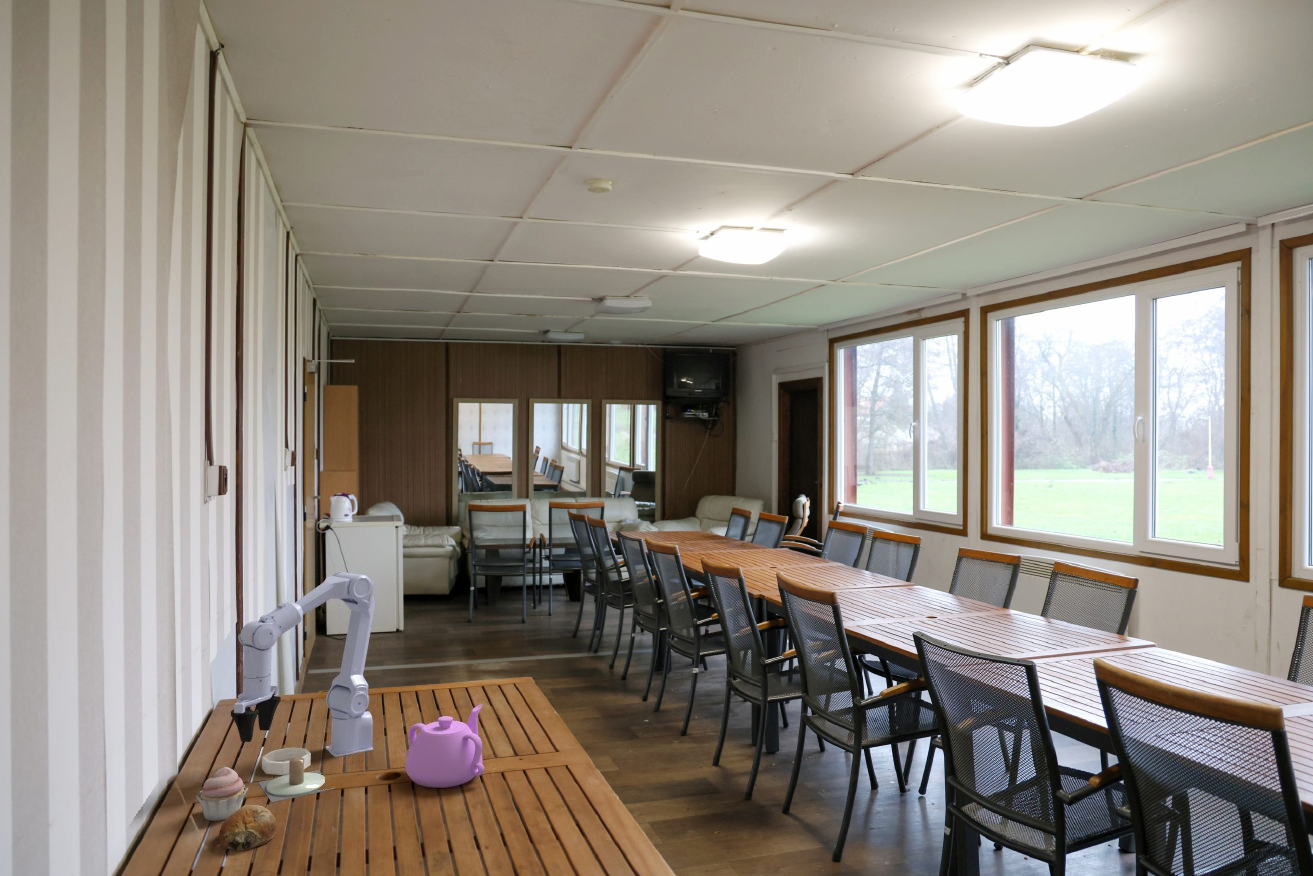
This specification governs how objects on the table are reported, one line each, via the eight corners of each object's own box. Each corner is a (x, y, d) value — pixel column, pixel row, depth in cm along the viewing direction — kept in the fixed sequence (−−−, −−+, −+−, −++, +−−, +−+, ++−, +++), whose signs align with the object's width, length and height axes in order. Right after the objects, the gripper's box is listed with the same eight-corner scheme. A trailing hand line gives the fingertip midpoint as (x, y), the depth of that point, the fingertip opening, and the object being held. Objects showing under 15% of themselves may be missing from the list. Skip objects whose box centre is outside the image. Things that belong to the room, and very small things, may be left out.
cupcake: (213, 830, 166) (214, 779, 166) (186, 818, 171) (188, 768, 171) (257, 813, 174) (258, 764, 174) (230, 802, 179) (232, 755, 179)
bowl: (302, 757, 205) (303, 745, 205) (313, 770, 197) (314, 757, 198) (259, 766, 199) (259, 753, 200) (268, 779, 192) (269, 766, 192)
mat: (318, 771, 197) (318, 770, 197) (335, 790, 186) (335, 788, 186) (258, 784, 189) (258, 782, 189) (271, 804, 178) (271, 802, 178)
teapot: (516, 767, 202) (517, 709, 202) (459, 801, 182) (460, 736, 182) (442, 752, 211) (444, 696, 211) (380, 782, 191) (381, 721, 191)
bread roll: (280, 855, 164) (294, 811, 167) (243, 854, 155) (258, 807, 158) (240, 847, 167) (254, 803, 170) (201, 845, 158) (217, 799, 162)
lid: (316, 771, 196) (317, 747, 196) (332, 788, 186) (332, 762, 186) (260, 782, 189) (261, 757, 189) (273, 800, 179) (274, 774, 179)
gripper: (257, 666, 199) (256, 724, 199) (221, 683, 185) (219, 746, 184) (286, 667, 198) (285, 725, 198) (252, 684, 184) (250, 747, 184)
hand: (255, 735), depth 191 cm, fingers open, 7 cm apart
